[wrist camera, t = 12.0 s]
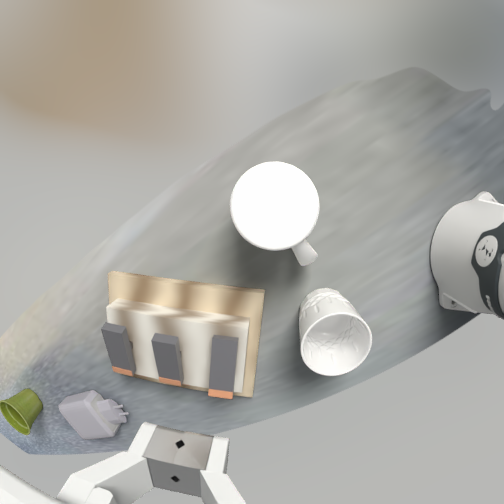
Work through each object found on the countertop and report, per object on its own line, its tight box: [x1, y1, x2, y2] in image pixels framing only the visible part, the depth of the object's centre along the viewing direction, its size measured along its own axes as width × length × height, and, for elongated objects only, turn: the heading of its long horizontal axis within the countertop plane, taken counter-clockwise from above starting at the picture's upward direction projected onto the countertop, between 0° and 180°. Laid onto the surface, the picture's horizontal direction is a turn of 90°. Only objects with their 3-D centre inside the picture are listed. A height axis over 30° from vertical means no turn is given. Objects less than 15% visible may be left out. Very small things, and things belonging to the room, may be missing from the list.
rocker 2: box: [151, 333, 184, 386], centre depth 36 cm, size 3×8×2 cm, turn 175°
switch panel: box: [106, 271, 265, 397], centre depth 40 cm, size 22×17×6 cm
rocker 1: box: [101, 322, 136, 376], centre depth 36 cm, size 3×8×2 cm, turn 175°
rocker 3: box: [208, 335, 239, 399], centre depth 35 cm, size 3×8×2 cm, turn 175°
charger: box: [59, 390, 129, 440], centre depth 45 cm, size 5×9×15 cm
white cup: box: [299, 288, 372, 376], centre depth 35 cm, size 8×8×10 cm
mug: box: [230, 162, 319, 266], centre depth 33 cm, size 8×10×12 cm
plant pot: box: [0, 389, 43, 435], centre depth 45 cm, size 9×9×9 cm
